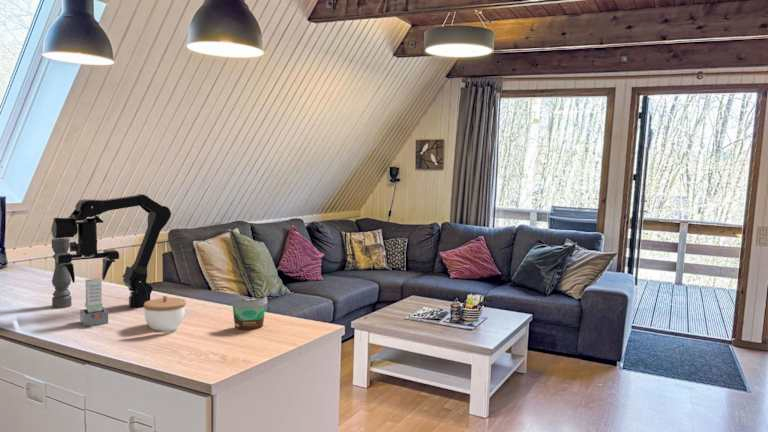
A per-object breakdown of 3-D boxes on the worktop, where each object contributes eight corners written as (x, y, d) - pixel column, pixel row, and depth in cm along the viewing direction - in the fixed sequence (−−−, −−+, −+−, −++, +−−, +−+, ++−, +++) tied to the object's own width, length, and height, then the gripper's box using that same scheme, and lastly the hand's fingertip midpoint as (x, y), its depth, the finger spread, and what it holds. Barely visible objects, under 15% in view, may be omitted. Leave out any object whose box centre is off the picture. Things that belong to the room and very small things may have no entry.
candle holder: (48, 306, 202) (46, 239, 200) (63, 303, 208) (62, 237, 206) (60, 309, 200) (58, 240, 198) (75, 305, 206) (74, 238, 204)
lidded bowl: (144, 325, 183) (143, 293, 182) (184, 322, 188) (184, 290, 187) (143, 337, 171) (143, 302, 170) (186, 333, 176) (186, 299, 175)
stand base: (112, 317, 191) (112, 303, 191) (122, 327, 180) (122, 312, 179) (66, 323, 182) (66, 309, 182) (73, 334, 171) (73, 318, 171)
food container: (234, 332, 178) (234, 302, 177) (230, 327, 184) (230, 298, 183) (271, 328, 184) (272, 299, 183) (266, 323, 189) (267, 295, 189)
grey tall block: (99, 309, 184) (99, 278, 183) (102, 312, 180) (102, 280, 179) (85, 311, 181) (84, 279, 180) (87, 314, 178) (87, 282, 177)
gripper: (111, 232, 201) (112, 274, 203) (52, 235, 189) (53, 280, 191) (119, 235, 193) (120, 279, 194) (57, 239, 181) (59, 285, 182)
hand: (88, 281), depth 191 cm, fingers open, 9 cm apart
